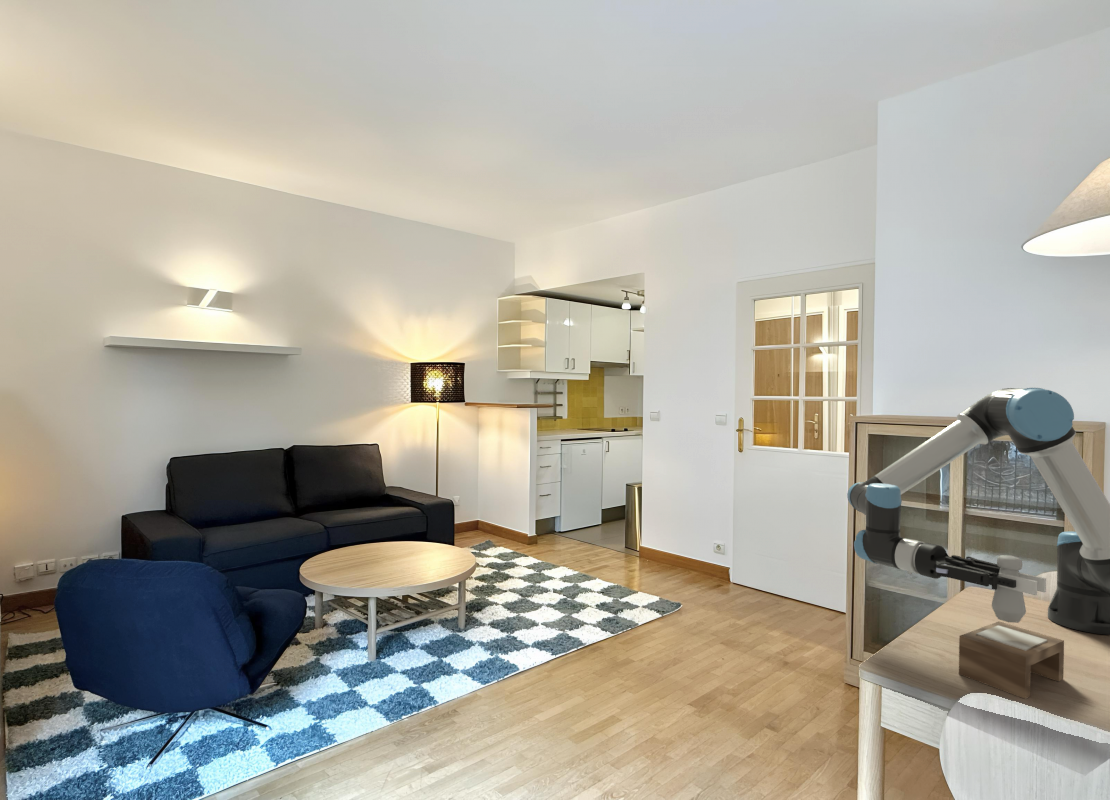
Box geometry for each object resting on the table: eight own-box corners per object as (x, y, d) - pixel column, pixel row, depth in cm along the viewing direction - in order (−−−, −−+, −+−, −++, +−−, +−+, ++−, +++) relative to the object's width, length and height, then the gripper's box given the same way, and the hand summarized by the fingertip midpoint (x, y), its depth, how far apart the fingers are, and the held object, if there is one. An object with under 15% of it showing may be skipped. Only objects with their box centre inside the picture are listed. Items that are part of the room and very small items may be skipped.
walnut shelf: (998, 657, 139) (998, 620, 139) (1063, 679, 129) (1064, 639, 128) (958, 673, 131) (959, 634, 131) (1024, 698, 121) (1025, 655, 120)
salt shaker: (1032, 625, 127) (1033, 561, 126) (1000, 623, 128) (1002, 559, 127) (1015, 614, 132) (1017, 553, 132) (985, 613, 133) (987, 552, 133)
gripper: (941, 569, 150) (1059, 598, 129) (901, 579, 142) (1020, 612, 121) (942, 538, 149) (1060, 562, 129) (901, 546, 141) (1020, 574, 121)
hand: (1040, 586), depth 125 cm, fingers closed on salt shaker, 3 cm apart
